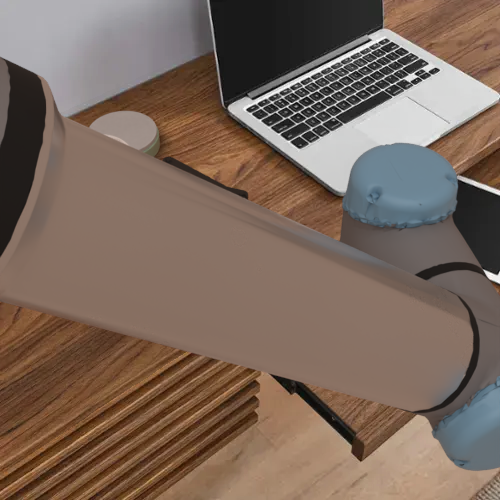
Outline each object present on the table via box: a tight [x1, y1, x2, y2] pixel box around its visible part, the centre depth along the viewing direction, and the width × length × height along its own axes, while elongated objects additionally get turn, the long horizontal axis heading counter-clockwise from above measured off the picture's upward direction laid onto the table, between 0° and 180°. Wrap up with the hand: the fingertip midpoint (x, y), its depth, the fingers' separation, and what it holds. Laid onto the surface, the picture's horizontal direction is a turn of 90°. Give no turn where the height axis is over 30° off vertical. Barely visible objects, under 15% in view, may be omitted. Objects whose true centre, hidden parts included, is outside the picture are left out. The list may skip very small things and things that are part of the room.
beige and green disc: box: [89, 110, 161, 158], centre depth 97 cm, size 9×9×2 cm
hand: (61, 186), depth 73 cm, fingers closed on beverage can, 8 cm apart
